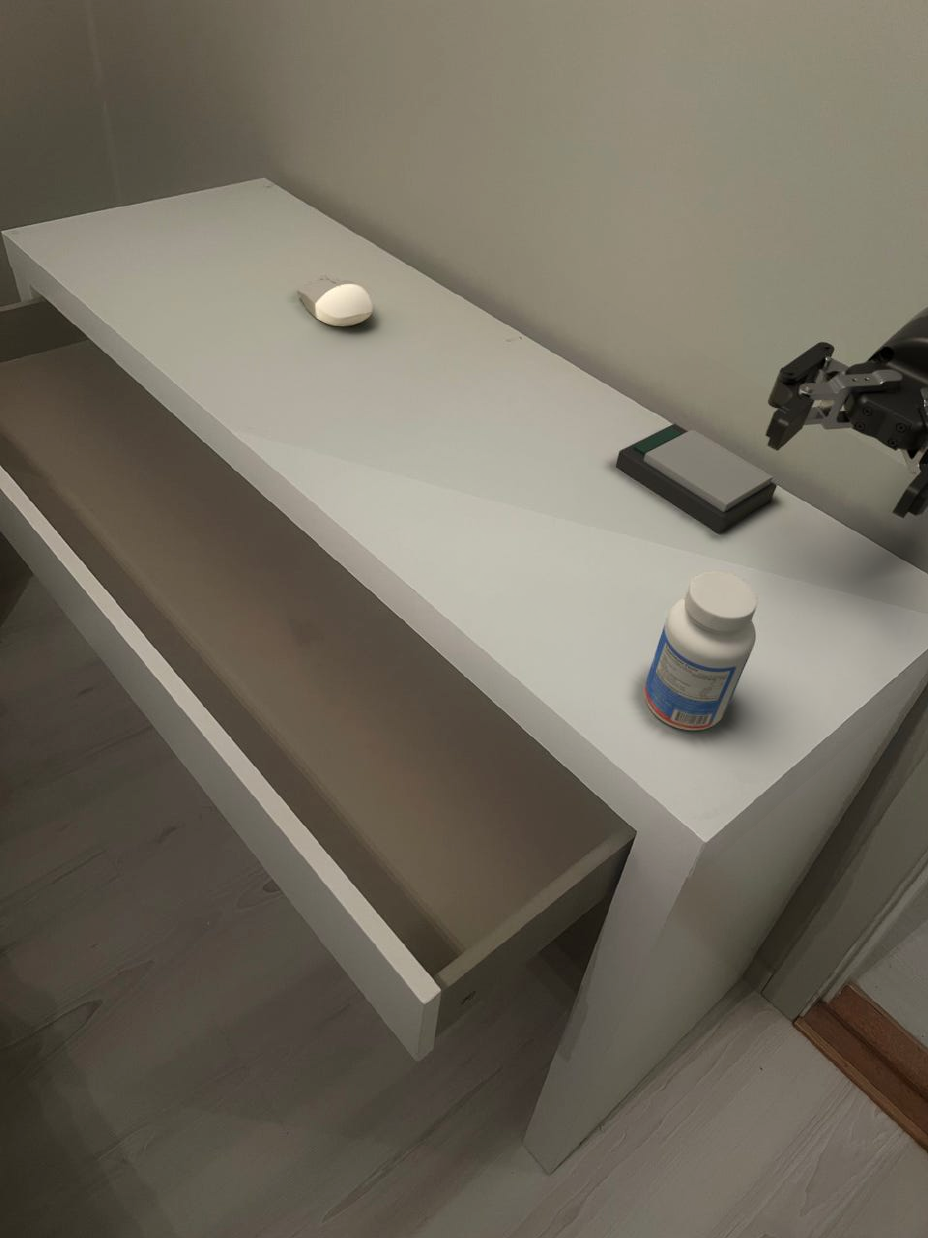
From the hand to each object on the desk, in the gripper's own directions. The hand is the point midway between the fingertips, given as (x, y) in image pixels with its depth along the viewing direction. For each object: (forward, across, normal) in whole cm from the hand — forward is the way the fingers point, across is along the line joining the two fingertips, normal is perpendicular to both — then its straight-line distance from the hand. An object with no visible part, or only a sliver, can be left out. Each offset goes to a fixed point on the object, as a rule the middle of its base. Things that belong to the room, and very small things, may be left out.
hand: (838, 470), depth 56 cm
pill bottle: (+11, 0, +14) cm, 17 cm away
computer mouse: (-9, -54, +18) cm, 57 cm away
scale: (-11, -12, +16) cm, 23 cm away
